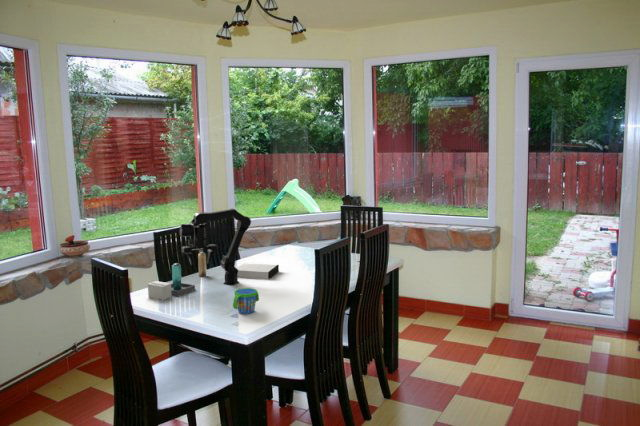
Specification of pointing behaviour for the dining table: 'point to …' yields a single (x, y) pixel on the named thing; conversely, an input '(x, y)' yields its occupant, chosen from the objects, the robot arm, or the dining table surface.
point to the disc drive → (257, 271)
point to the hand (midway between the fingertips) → (199, 264)
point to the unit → (159, 290)
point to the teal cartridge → (176, 276)
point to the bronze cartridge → (202, 264)
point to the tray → (184, 290)
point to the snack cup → (245, 300)
